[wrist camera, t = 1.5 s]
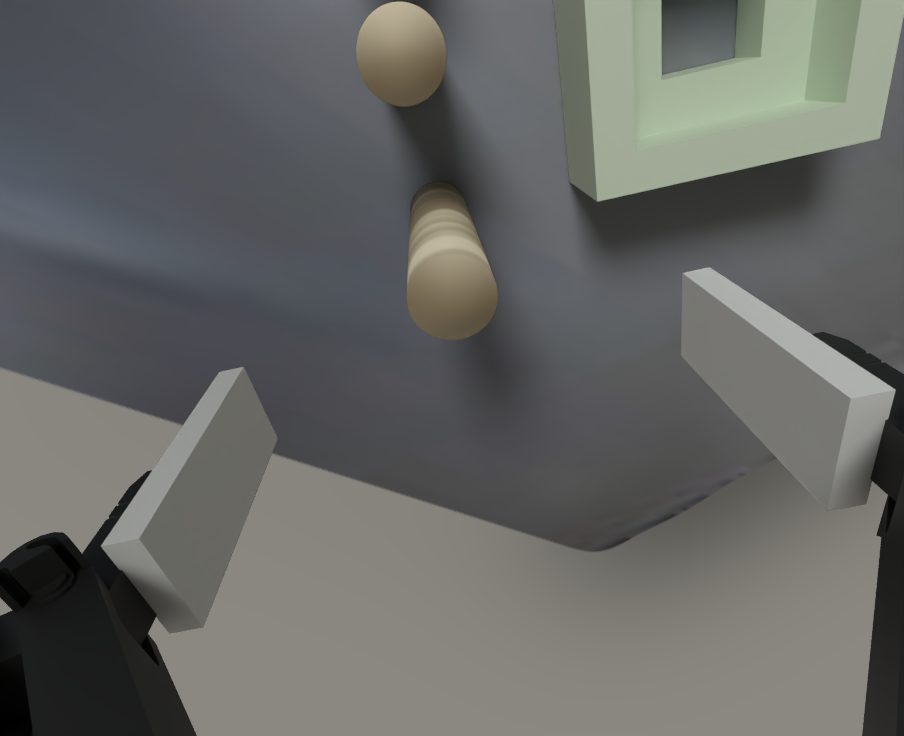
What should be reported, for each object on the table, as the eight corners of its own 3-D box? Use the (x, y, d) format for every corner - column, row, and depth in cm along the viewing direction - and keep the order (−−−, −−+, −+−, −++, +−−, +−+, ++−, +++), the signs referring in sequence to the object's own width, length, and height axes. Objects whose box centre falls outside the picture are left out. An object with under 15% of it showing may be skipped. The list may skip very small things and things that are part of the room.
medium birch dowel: (365, 30, 27) (344, 13, 19) (430, 15, 26) (435, -9, 19) (383, 103, 28) (370, 115, 20) (444, 88, 28) (454, 95, 20)
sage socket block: (542, -128, 24) (573, -178, 19) (849, -207, 23) (960, -279, 18) (569, 181, 31) (597, 201, 26) (806, 127, 30) (879, 138, 25)
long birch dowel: (404, 189, 31) (396, 266, 18) (460, 176, 30) (489, 245, 18) (417, 244, 32) (418, 348, 20) (471, 232, 32) (504, 330, 20)
